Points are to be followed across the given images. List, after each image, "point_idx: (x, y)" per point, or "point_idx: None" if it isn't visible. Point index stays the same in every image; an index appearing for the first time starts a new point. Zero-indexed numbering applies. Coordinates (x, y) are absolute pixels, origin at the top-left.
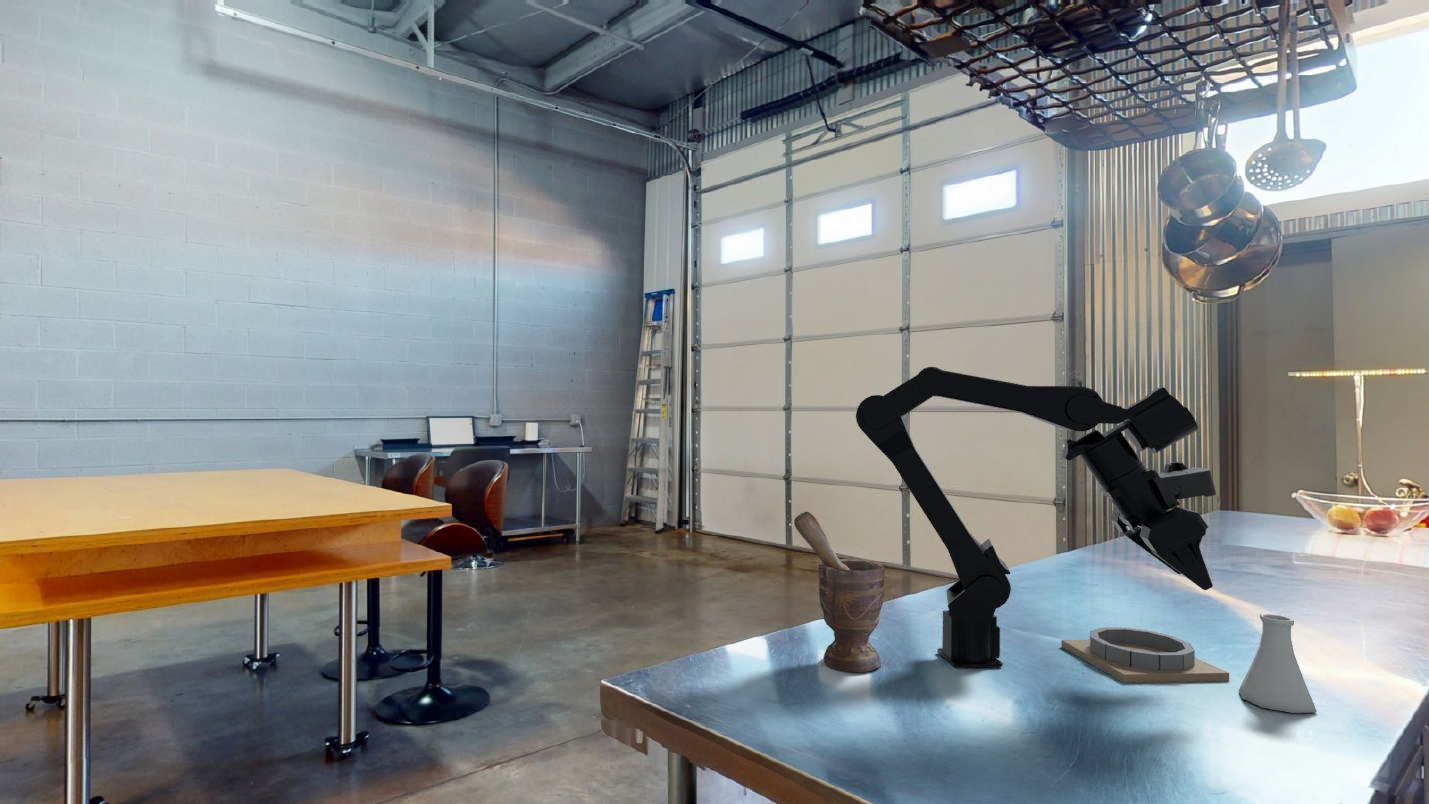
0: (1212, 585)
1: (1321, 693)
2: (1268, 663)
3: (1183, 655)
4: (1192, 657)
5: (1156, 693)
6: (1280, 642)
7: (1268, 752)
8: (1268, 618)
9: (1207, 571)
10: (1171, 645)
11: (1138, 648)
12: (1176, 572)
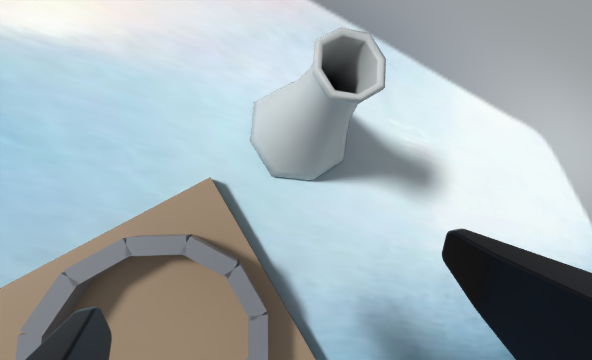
0: (465, 229)
1: (211, 49)
2: (346, 129)
3: (236, 262)
4: (200, 240)
5: (344, 307)
6: (356, 90)
7: (490, 191)
8: (377, 89)
9: (550, 259)
10: (98, 274)
11: None
12: (109, 352)
